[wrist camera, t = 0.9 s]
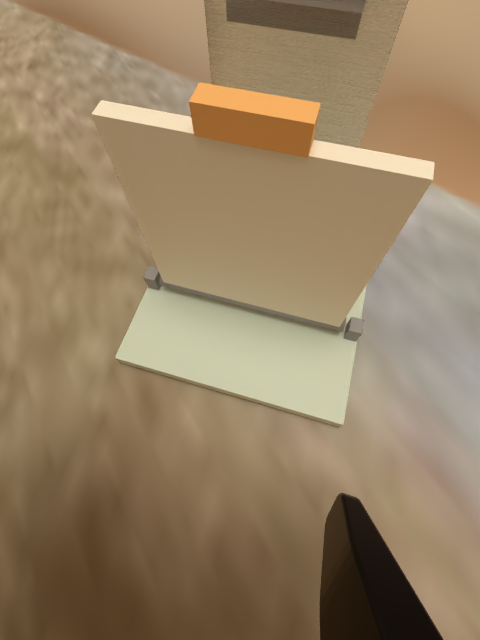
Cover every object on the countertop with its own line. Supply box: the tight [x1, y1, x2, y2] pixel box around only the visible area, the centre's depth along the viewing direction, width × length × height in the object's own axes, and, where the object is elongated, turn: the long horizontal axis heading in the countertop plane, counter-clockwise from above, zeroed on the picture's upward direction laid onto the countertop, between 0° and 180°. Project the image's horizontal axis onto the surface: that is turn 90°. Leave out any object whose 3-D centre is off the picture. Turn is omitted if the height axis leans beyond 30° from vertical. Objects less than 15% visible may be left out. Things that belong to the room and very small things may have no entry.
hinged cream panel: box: [92, 82, 434, 332], centre depth 17 cm, size 1×13×14 cm, turn 73°
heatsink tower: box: [204, 0, 409, 148], centre depth 20 cm, size 5×8×15 cm, turn 73°
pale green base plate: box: [115, 266, 366, 427], centre depth 25 cm, size 17×15×2 cm
